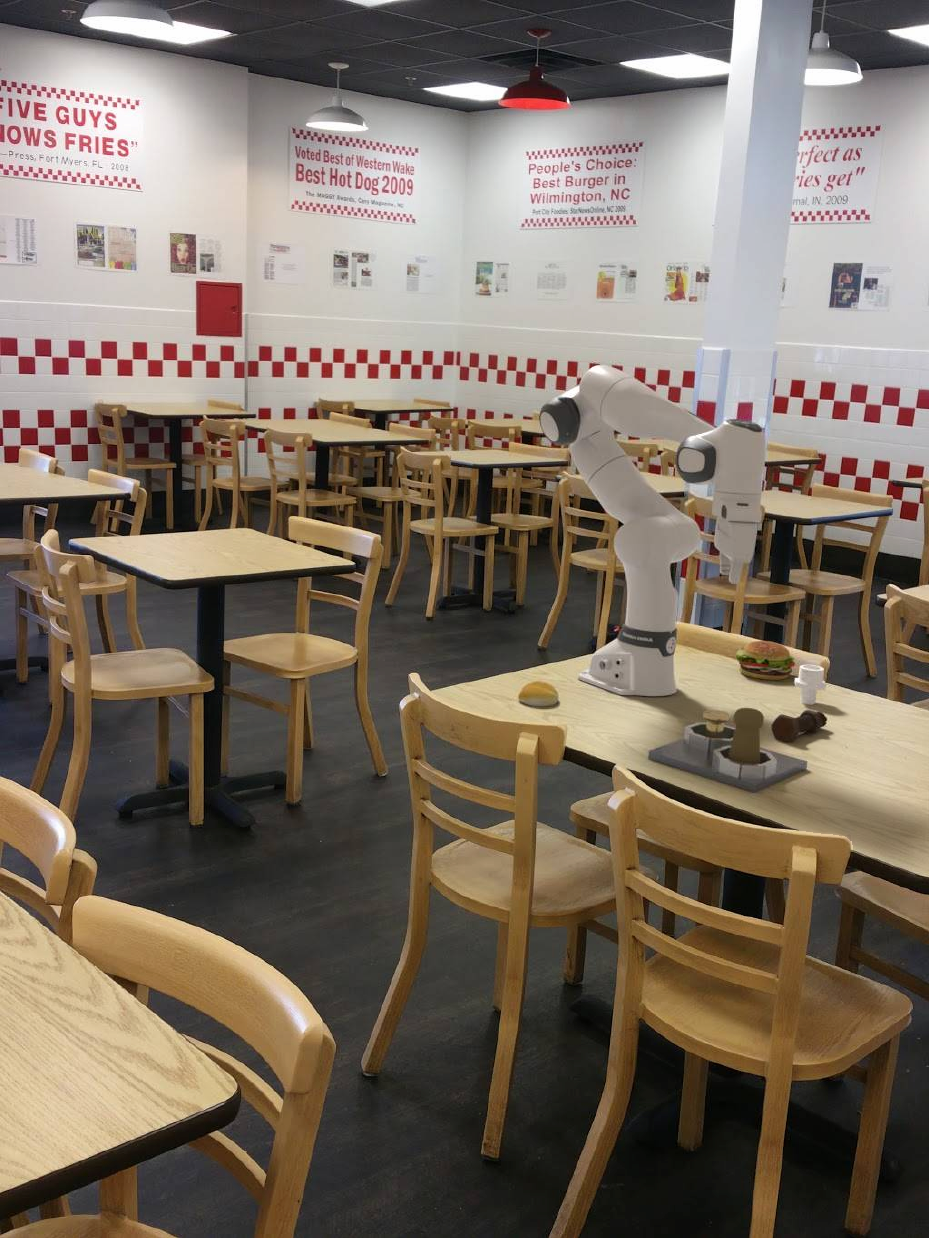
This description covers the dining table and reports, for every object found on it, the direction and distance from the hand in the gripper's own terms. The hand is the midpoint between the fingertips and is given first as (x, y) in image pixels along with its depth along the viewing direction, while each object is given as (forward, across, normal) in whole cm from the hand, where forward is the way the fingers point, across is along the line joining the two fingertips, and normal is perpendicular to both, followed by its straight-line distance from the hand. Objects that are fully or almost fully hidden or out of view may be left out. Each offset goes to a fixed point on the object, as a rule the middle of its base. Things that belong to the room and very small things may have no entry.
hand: (729, 578), depth 228 cm
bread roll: (+31, -17, -34) cm, 50 cm away
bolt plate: (+32, +16, 0) cm, 36 cm away
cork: (+30, +23, +1) cm, 38 cm away
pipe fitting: (+32, -29, +26) cm, 50 cm away
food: (+32, -52, +20) cm, 64 cm away
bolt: (+32, -5, +18) cm, 37 cm away
